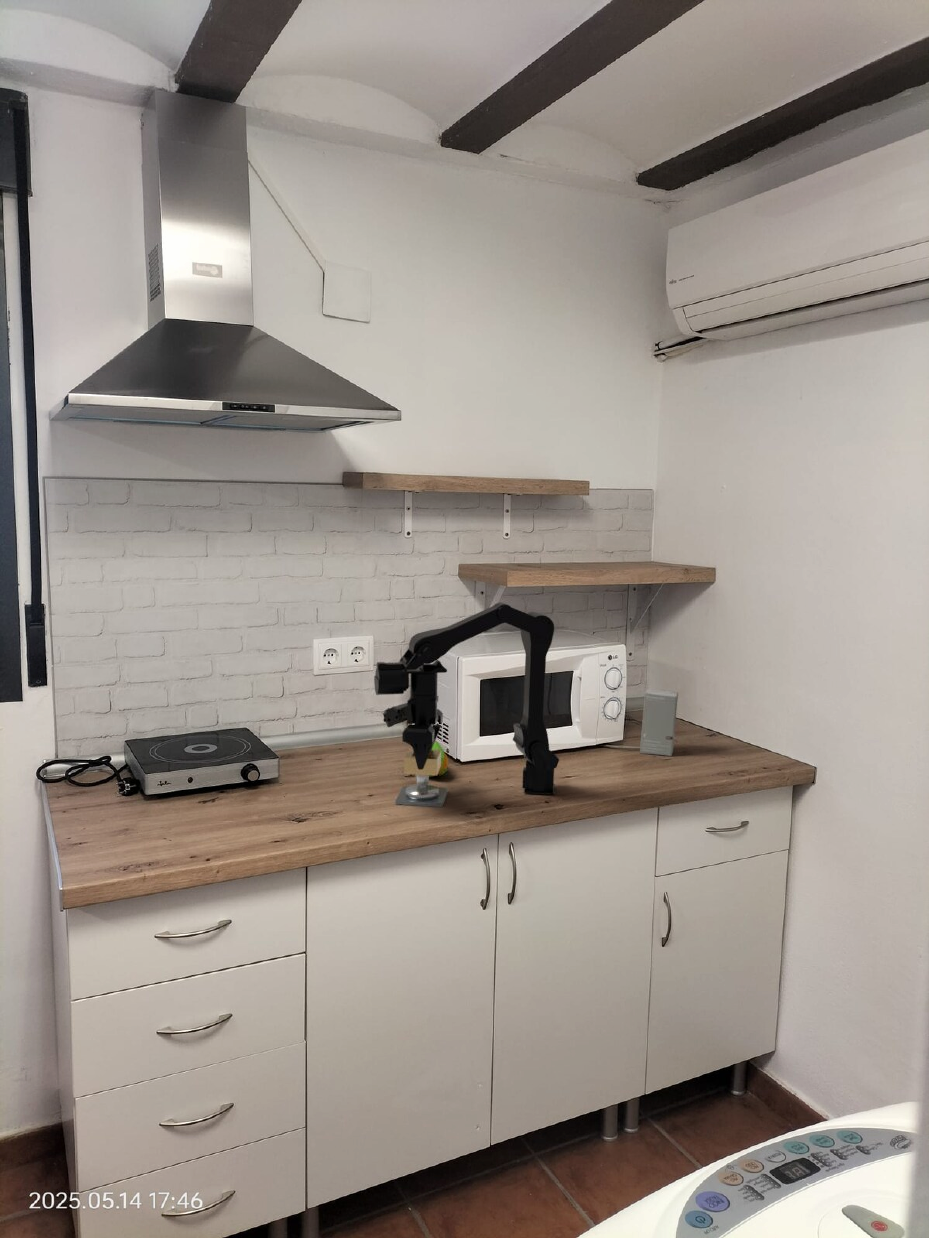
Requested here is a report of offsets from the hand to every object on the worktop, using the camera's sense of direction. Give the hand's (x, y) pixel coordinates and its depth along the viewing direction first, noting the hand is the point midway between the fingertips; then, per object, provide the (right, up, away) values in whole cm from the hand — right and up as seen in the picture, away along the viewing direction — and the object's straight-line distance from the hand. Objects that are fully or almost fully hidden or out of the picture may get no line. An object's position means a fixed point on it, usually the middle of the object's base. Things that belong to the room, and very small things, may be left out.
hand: (422, 764), depth 195 cm
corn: (0, -5, +21) cm, 22 cm away
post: (0, -7, +1) cm, 8 cm away
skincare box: (+59, -3, +40) cm, 71 cm away
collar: (0, -1, 0) cm, 1 cm away
